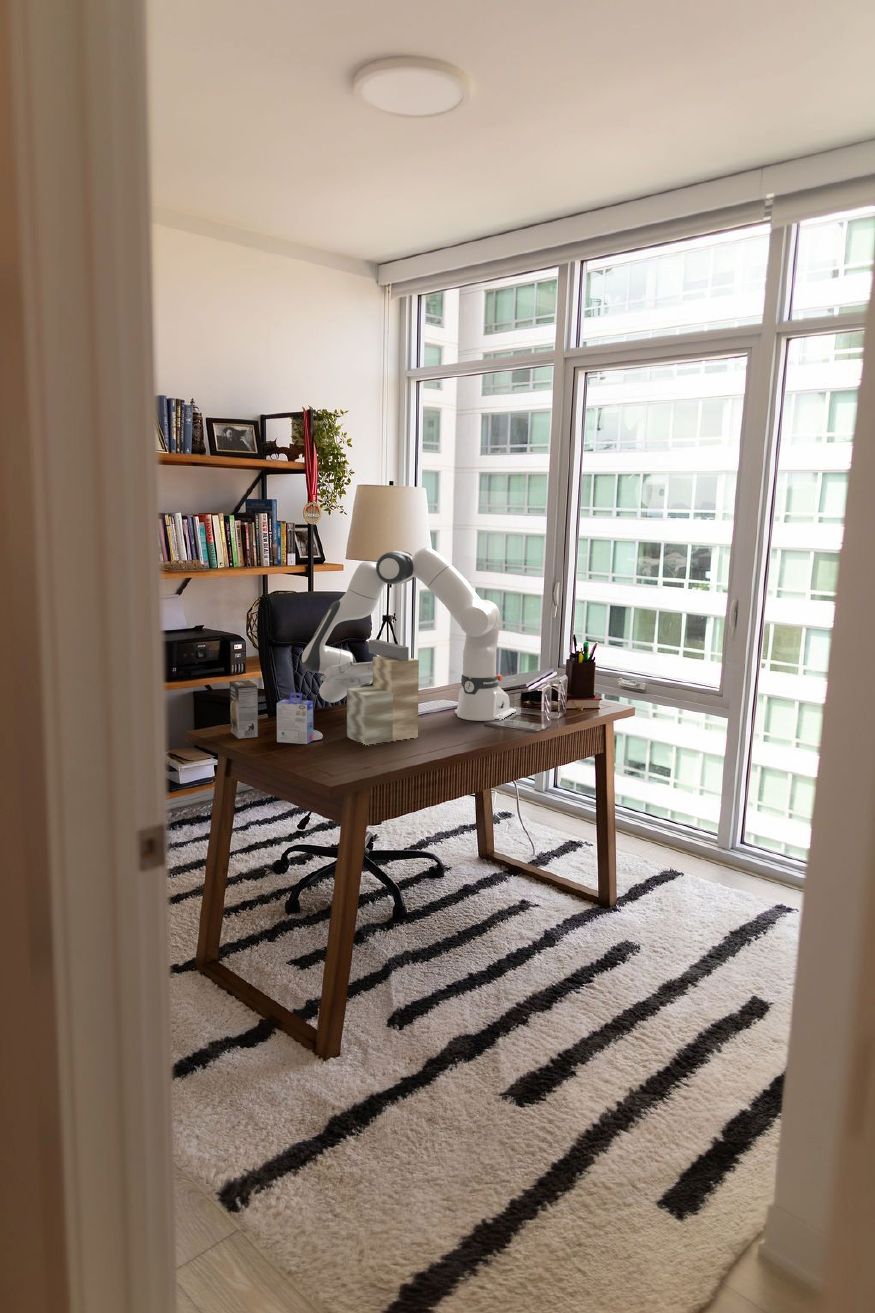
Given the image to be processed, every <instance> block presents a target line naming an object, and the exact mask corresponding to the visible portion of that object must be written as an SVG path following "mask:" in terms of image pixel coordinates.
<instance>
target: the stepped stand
mask: <svg viewBox="0 0 875 1313" xmlns="http://www.w3.org/2000/svg"><path fill="white" fill-rule="evenodd" d="M372 660H373V680H372V685H365V686H362V687H357V688H348V689H347V695H346V737H347V738H349V739H351V740H353V741H355V742H357V743H359V742H361V743H363V744H362V745H364V744H365V745H364V746H366V745H368V746H370V745H369V744H374V745H377V744H376V743H381V742H388V743H391V742H390V741H394V742H397V741H396V740H401V741H404V740H403V739H407V740H411V739H410V738H414V739H418V738H419V689H420V688H419V683H420V682H419V681H420V680H419V676H420V675H419V674H420V670H419V669H420V668H419V667H420V666H419V665H420V661H419V659H417V658H416V659H415V658H411V657H409V661H397V660H393V659H390V658H386V657H383V656H379V655H376V656H372ZM417 737H418V738H417ZM361 743H360V744H361ZM381 744H382V743H381Z"/></svg>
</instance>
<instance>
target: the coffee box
mask: <svg viewBox="0 0 875 1313" xmlns="http://www.w3.org/2000/svg"><path fill="white" fill-rule="evenodd" d="M228 683H229V703H230V704H229V705H230V706H229V708H230V709H229V710H230V711H229V713H230V715H229V716H230V733H232V735H234V736H235V737H236V738H237V739H247V738H248V739H251V738H258V737H259V725H258V724H259V722H258V720H259V718H258V717H259V714H258V713H259V712H258V709H259V708H258V705H259V704H258V685H257V684H256V683H254V682H253V681H251V680H250V679H249V680H230V681H229V682H228Z"/></svg>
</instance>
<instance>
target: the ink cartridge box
mask: <svg viewBox="0 0 875 1313" xmlns="http://www.w3.org/2000/svg"><path fill="white" fill-rule="evenodd" d="M293 696H298V697H293ZM302 698H303V692H290V696H289V699H281V700H279V701H278V702H276V742H277V743H284V744H285V743H286V744H288V743H289V744H301V745H308V744H309V743H311V742H313V741H314V701H313V700H303V699H302Z"/></svg>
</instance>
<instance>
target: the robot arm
mask: <svg viewBox="0 0 875 1313" xmlns="http://www.w3.org/2000/svg"><path fill="white" fill-rule="evenodd" d="M414 578H416V579H417V580H419V581H421V582H422V584H424V585H425V587H427V589H429V590H430V592H431V593H432V594H433V595H434V596H435V597H436V598H437V599H438V600H439V601H440V602H441V603H442V604H443V605H444V606H445V608H446V609H447V610H448V612H449V614H450V615H451V616H452V617H453V618H454V620H455V621H456V623H457V624H458V625H459V626H460V628H461V630H462V632H464V634H465V641H464V646H463V652H462V653H463V654H462V674H461V679H460V681H461V682H460V684H461V688H460V689H459V691H458V698H457V699H458V700H457V708H455V709H454V713H455V714H456V716H457V717H458V718H460V719H463V720H467V721H478V722H479V721H481V722H484V721H495V720H494V719H503V720H505V719H506V718H505V717H507V716H508V715H510V714H511V713H514V712H515V711H516V712H517V709H516V708H513V707H510V696H509V695H508V693H507V692H506V691H504V690H503V689H502V688H501V687H500V685H499V682H503V679H504V678H503V675H502V674H497V648H498V641H499V633H500V632H499V631H500V620H501V613H500V610H499V607H498V606H497V604H496V603H495V602H493V601H491V600H488V599H481V597H480V596H479V595H478V594H477V593H476V591H475V590H474V588H473V587H472V586H471V584H470V583H469V581H468V580H467V579H466V578H465V577H464V576H463V575H462V574H461V572H459V571H458V569H456V567H454V566H453V565H452V564H451V563H450V561H449V560H447V559H446V558H445V557H444V556H443V555H441V554H440V553H439V552H438V551H436V550H435V549H433V548H432V547H428V546H427V547H423V548H420V549H419V550H418V551H416V552H415V553H414V554H412V553H410V552H407V551H400V550H394V551H388V552H386V553H383V554H382V555H381V556H380V557H379V558H378V559H377V561H376V562H375V561H362V562H361V563H359V565H358V566H357V568H356V570H355V571H354V573H353V575H352V577H351V580H350V582H349V585H348V587H347V590H346V592H345V593H344V594H343V596H342V597H341V598H340V599H339V600H335V601H333V602H332V603H331V604H330V605H329V607H328V609H327V610H326V612H325V614H324V616H323V618H322V619H321V621H320V623H319V625H318V627H317V629H316V631H315V632H314V634H313V636H312V638H311V639H310V641H309V642H308V644H307V645H306V646H305V648H304V650H303V652H302V655H301V664H302V666H303V667H304V669H305V671H307V672H309V673H316V674H317V673H318V674H323V675H321V677H320V679H319V680H320V681H323V682H322V683H321V685H320V686H319V690H318V692H319V696H320V697H321V698H322V699H323V701H326V702H328V703H337V702H339V701H340V700H341V701H342V699H343V698H345V697H347V689H348V688H357V687H366V686H370V685H371V684H373V659H371V661H366V662H357V660H356V658H355V655H354V654H353V653H352V651H348V650H345V649H341V648H338V647H337V648H336V647H333V646H332V647H331V646H328V645H326V642H328V639H329V638H330V635H331V634H332V631H333V630H334V628H335V627H336V626H337V625H338V624H339V623H342V622H345V621H352V620H353V621H354V620H360V619H361V620H362V619H364V618H366V617H368V616H370V615H371V614H373V613H374V611H375V609H376V608H377V607H376V606H377V605H378V602H379V600H380V596H381V594H382V591H383V588H384V587H385V586H386V585H387V584H388V585H402V584H405V583H408V582H410V581H413V579H414ZM514 714H515V713H514ZM504 718H505V719H504ZM507 718H508V717H507Z"/></svg>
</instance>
